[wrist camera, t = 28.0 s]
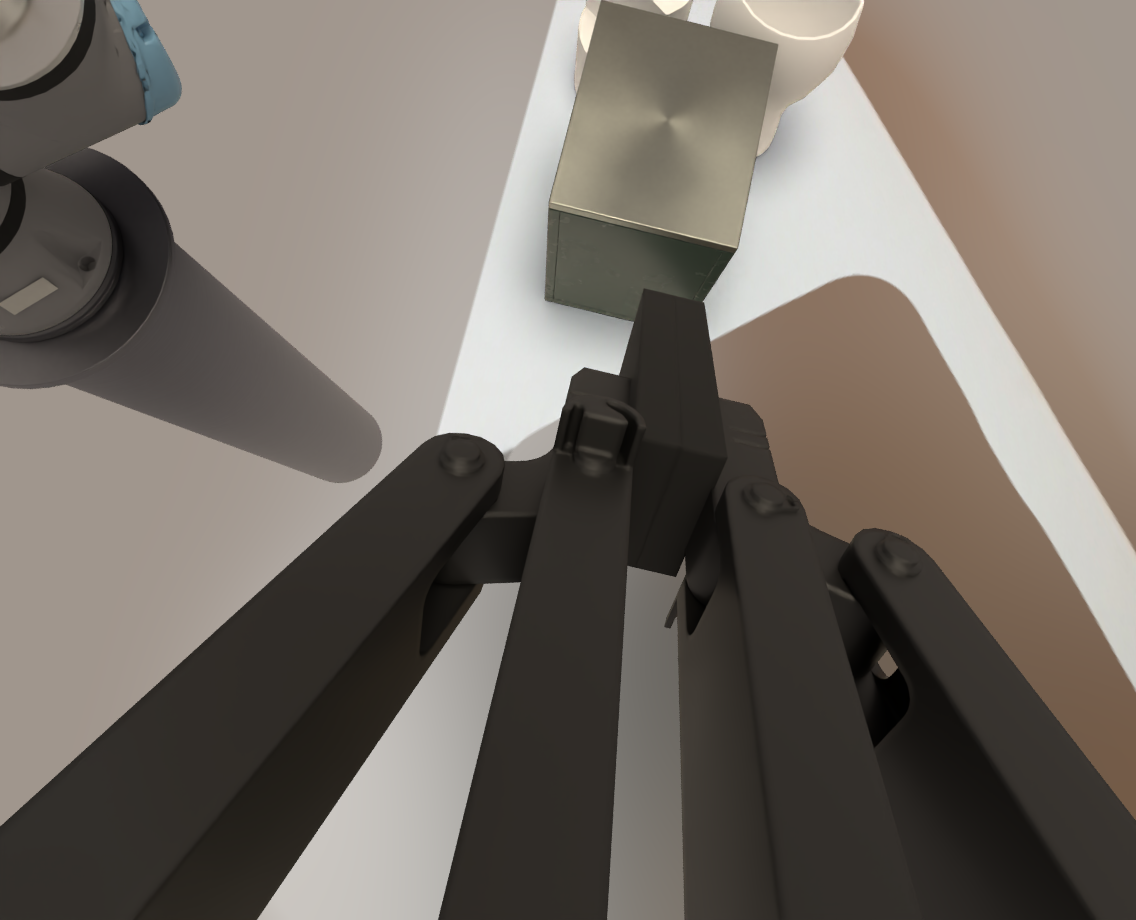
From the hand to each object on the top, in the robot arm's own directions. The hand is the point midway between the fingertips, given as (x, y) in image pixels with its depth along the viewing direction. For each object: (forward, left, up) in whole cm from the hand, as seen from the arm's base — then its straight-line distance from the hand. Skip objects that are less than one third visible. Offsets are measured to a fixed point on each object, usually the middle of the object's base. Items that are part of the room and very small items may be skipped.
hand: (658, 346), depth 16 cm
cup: (-22, +32, -38) cm, 54 cm away
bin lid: (-17, +17, -23) cm, 33 cm away
